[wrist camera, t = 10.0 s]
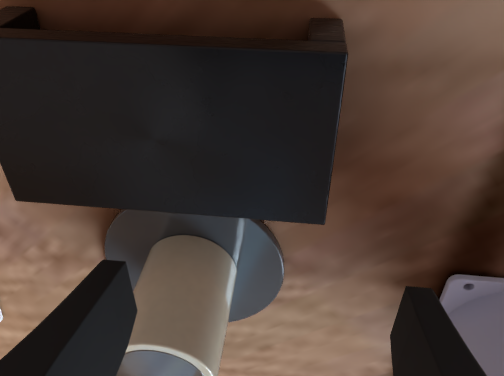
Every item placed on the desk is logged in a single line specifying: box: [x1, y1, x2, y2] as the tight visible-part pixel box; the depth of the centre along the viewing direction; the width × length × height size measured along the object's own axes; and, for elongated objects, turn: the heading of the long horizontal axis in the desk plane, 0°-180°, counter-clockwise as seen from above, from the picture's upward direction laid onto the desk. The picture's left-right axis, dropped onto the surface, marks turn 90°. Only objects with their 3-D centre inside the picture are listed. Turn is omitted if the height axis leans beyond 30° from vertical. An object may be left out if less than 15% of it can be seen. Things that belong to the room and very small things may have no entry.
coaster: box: [105, 209, 284, 322], centre depth 25 cm, size 10×10×1 cm
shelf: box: [0, 7, 348, 225], centre depth 18 cm, size 13×7×4 cm, turn 90°
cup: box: [116, 235, 237, 376], centre depth 22 cm, size 5×5×6 cm
